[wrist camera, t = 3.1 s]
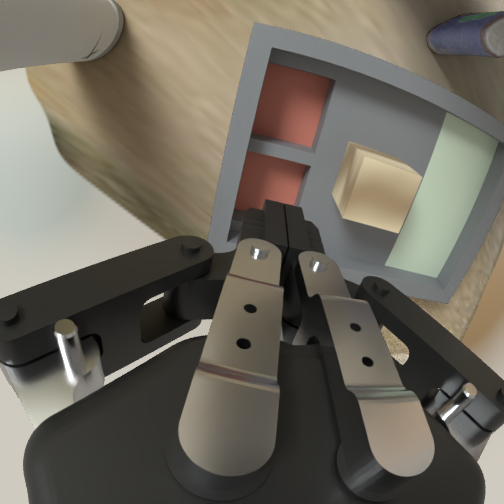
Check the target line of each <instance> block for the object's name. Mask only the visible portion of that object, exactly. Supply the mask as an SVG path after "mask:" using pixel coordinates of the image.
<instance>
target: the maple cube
mask: <svg viewBox="0 0 504 504" xmlns="http://www.w3.org/2000/svg"><path fill="white" fill-rule="evenodd" d="M421 179H422V176H421V175H419V174H418V173H417V172H416V171H415V170H413V169H412V168H411V167H410V166H408V165H407V164H406V163H405V162H403V161H402V160H401V159H399V158H397V157H394V156H391V155H389V154H386V153H383V152H380V151H377V150H374V149H371V148H368V147H365V146H362V145H359V144H356V143H353V142H350V141H349V143H348V146H347V149H346V152H345V155H344V158H343V161H342V164H341V167H340V170H339V173H338V176H337V179H336V182H335V185H334V188H333V191H332V196H333V198H334V200H335V202H336V204H337V207H338V209H339V211H340V213H341V216H342V218H344V219H348V220H352V221H355V222H359V223H363V224H366V225H370V226H374V227H377V228H381V229H384V230H388V231H391V232H395V233H398V234H399V231H400V229H401V227H402V225H403V222H404V220H405V218H406V216H407V213H408V211H409V209H410V206H411V204H412V202H413V199H414V197H415V194H416V192H417V189H418V187H419V185H420V182H421Z"/></svg>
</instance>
